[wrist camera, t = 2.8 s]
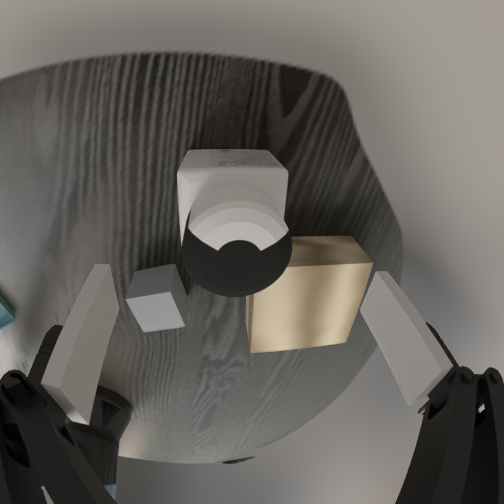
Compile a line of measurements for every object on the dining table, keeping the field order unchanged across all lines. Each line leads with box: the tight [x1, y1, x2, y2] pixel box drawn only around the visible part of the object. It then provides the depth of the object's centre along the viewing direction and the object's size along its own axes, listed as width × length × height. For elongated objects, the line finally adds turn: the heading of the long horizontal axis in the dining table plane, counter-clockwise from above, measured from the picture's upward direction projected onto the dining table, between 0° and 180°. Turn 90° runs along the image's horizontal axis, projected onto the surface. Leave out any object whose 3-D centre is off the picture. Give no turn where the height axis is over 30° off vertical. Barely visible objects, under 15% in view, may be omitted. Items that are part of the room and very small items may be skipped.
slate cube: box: [126, 264, 188, 332], centre depth 30 cm, size 5×5×5 cm
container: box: [177, 149, 292, 297], centre depth 21 cm, size 8×8×13 cm
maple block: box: [245, 236, 373, 353], centre depth 32 cm, size 12×12×6 cm
